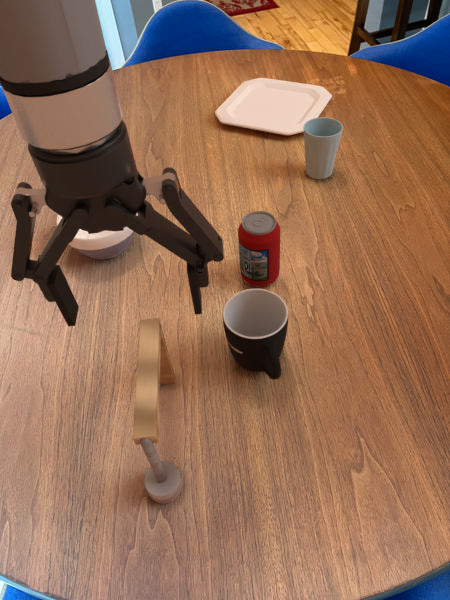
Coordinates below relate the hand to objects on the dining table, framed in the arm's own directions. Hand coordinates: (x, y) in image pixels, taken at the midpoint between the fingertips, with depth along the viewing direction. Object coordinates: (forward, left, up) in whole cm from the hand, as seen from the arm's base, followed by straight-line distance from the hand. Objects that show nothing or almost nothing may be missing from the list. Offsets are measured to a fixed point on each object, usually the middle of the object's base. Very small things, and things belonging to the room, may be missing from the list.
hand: (135, 310), depth 52 cm
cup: (+32, +53, -21) cm, 65 cm away
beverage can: (+16, +24, -21) cm, 36 cm away
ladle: (0, -4, -21) cm, 21 cm away
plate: (+26, +81, -21) cm, 87 cm away
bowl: (-12, +36, -21) cm, 43 cm away
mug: (+14, +6, -21) cm, 26 cm away
